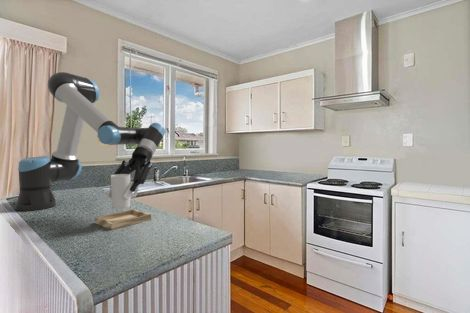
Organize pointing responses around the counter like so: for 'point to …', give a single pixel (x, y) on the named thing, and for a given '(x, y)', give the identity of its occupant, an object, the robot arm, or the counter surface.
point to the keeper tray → (122, 219)
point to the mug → (121, 190)
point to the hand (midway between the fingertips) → (117, 197)
